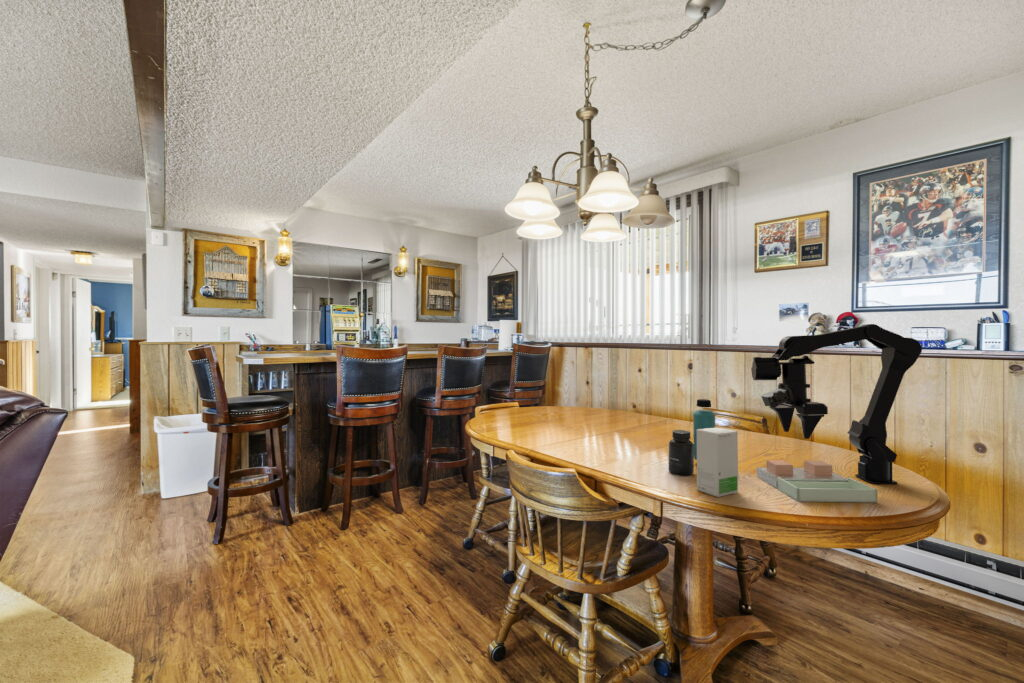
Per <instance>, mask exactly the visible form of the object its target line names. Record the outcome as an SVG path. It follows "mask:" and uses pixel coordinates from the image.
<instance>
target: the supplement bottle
mask: <svg viewBox="0 0 1024 683" xmlns="http://www.w3.org/2000/svg"><path fill="white" fill-rule="evenodd" d="M671 437H672V439H670V440H669V441H668V472H669V473H670V474H672V475H674V476H679V477H689V476H693V474H694V469H695V468H694V465H695V459H694V442H693V441H691V440H690V439H691V431H688V430H685V429H674V430H672V436H671Z"/></svg>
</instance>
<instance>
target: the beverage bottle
mask: <svg viewBox="0 0 1024 683" xmlns="http://www.w3.org/2000/svg"><path fill="white" fill-rule="evenodd" d="M696 407H697V408H699V407H700V408H711V407H712V402H711V400H710V399H706V398H702V399H701V398H700V399H697V400H696ZM692 416H693V419H692V420H693V431H692V432H693V433H692V434H693V435H692V440H693V441H692V443H693V444H694V461H697V432H696V430H697V429H705V428H716V414H715V412H713V411H712V410H709V409H696V410H695V411H694V412H693V413H692Z"/></svg>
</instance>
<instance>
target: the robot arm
mask: <svg viewBox="0 0 1024 683" xmlns="http://www.w3.org/2000/svg"><path fill="white" fill-rule="evenodd" d="M865 340H866V341H867V342H869V343H871V344H872V345H873V346H874V347H876V348H878V349H880V350H881V354H880V361H881V365H882V366H881V368H882V369H881V371H880V373H879V376H878V377H877V378H878V379H877V382H876V384H875V387H874V389H873V392H872V395H871V398H870V400H869V402H868V406H867V408H866V411H865V414H864V415H863V417H862V418H861V419H860V420H859V421H858V420H854V419H852V421H851V426H850V428H849V430H848V431H847V434H849V436H848V440H849V441H850V444H851V445H852V446H853V447H854V448H856V451H857V453H858V454H861V455H859V461H858V462H857V474H854V475H855V477H857V478H859V479H861V480H864V481H866V482H868V483H871V484H876V485H877V484H881V485H882V484H883V485H892V484H894V485H895V484H897V485H898V481H896V480H894V479H893V463H895V462H896V459H897V457H898V454H897V453H896V452H895V451H893V450H892V449H891V448H890V447H889V446H887V445H886V444H887V439H888V432H887V426H886V424H887V420H888V418H889V414H890V412H891V409H892V407H893V405H894V402H895V400H896V397H897V394H898V392H899V389H900V386H901V384H902V382H903V378H904V376H905V373H906V372H907V371H908V370H909V369H911V367H912V366H913V365H914V364H915V363H916V362H917V360H918V359H919V357H920V356H921V354H922V352H923V346H922V345H921V343H920V342H919V341H918V340H917V339H914V338H912V337H904V336H903V335H901V334H898V333H895V332H893V331H890V330H888V329H885V328H884V327H881V326H879V325H877V324H876V323H875V324H874V323H872V324H869V323H867V324H866V323H865V324H862V325H859V326H854V327H850V328H845V329H840V330H839V329H838V330H834V331H831V332H830V331H829V332H824V333H818V334H815V335H814V334H813V335H811V334H810V335H790V336H784V337H783V338H781V340H780V341H779V343H778V348H777V349H776V351H775V352H774V353H773V355H771V356H769V357H767V356H766V357H761V356H753V358H752V359H753V361H752V365H751V377H752V380H753V381H777V379H778V378H781V380H782V381H781V382H779V383H778V385H777V387H778V388H777V389H774V390H773V389H772V390H771V391H768V392H766V393H763V394H761V395H760V397H761V399H762V402H763V405H764V406H765V407H769V409H771V410H772V411H774V412H775V413H776V414H777V417H778V420H779V422H780V424H781V427H782V428H783V429H782V430H783V432H785V433H788V432H790V429H791V425H792V422H793V421H792V420H793V418H794V416H793V415H794V412H795V410H796V412H797V413H795V415H796V417H798V418H799V419H800V420H801V426H802V427H801V428H802V434H803V437H804V440H808V439H810V437H811V436H812V434H813V433H814V430H815V429H816V428H817V426H818V424H819V422H820V421H821V419H822V418H824V417H825V415H828V414H829V412H828V411H829V410H828V406H827V405H826V404H825V403H823V402H818V401H812V400H811V398H808V396H807V394H808V392H807V390H808V389H810V388H811V384H810V383H807V368H806V365H814V364H815V361H814V360H812V359H811V358H810V357H809V355H807V354H810V353H812V352H814V351H817V350H819V349H822V348H827V347H832V346H838V345H843V344H848V343H853V342H854V343H855V342H858V341H865ZM801 356H802V357H801ZM793 357H795V358H793ZM797 357H798V358H797ZM780 361H781V362H780Z"/></svg>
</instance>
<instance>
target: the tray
mask: <svg viewBox="0 0 1024 683" xmlns="http://www.w3.org/2000/svg"><path fill="white" fill-rule="evenodd" d="M847 479H848V482H815V481H785V480H783V479H782V478H780V477H777V488H776V489H777V490H779V491H780V492H782V493H783V494H785V495H787V496H788V497H790V498H791V499H792V500H795V501H796V502H806V503H807V502H815V503H817V502H818V503H819V502H820V503H821V502H822V503H875V504H877V503H878V489H877V488H874V487H873V486H870V485H867V484H865V483H863V482H861V481H858V480H855V479H854V478H851V477H847Z"/></svg>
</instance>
